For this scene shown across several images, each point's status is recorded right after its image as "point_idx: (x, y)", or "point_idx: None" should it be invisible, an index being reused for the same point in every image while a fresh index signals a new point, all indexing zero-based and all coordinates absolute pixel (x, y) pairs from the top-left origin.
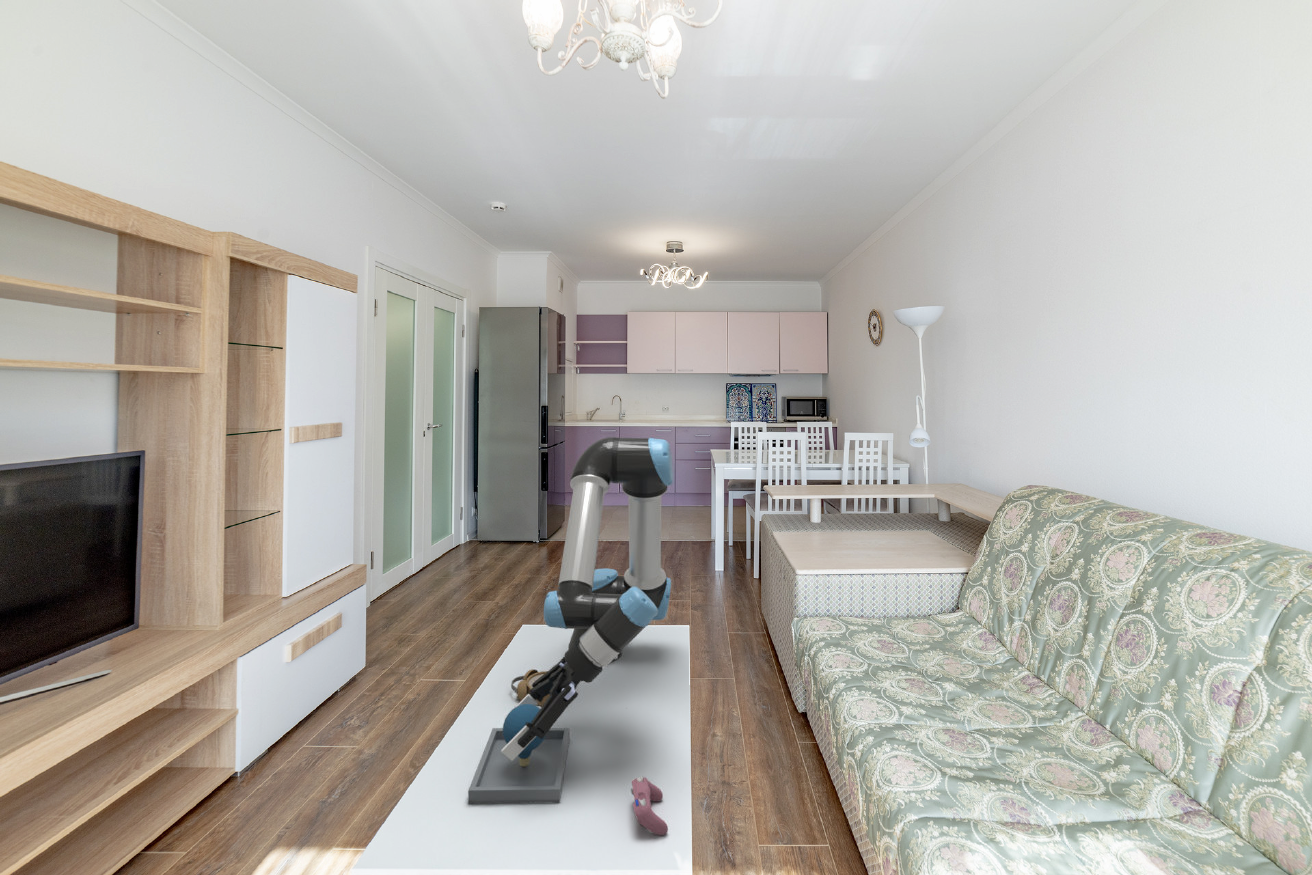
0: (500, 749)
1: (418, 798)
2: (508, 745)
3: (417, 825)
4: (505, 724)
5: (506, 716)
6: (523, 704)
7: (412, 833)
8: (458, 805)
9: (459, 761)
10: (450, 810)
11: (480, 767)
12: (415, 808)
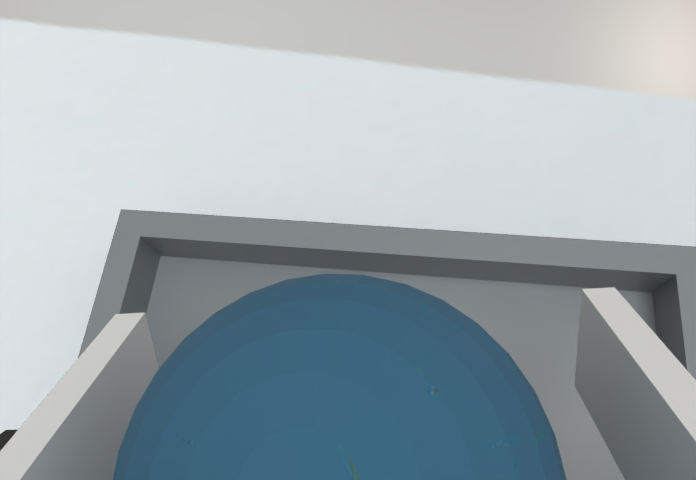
0: (547, 326)
1: (231, 57)
2: (84, 354)
3: (80, 89)
4: (263, 288)
5: (610, 297)
6: (408, 454)
7: (44, 85)
8: (151, 201)
9: (466, 149)
10: (129, 177)
11: (297, 236)
12: (175, 62)
